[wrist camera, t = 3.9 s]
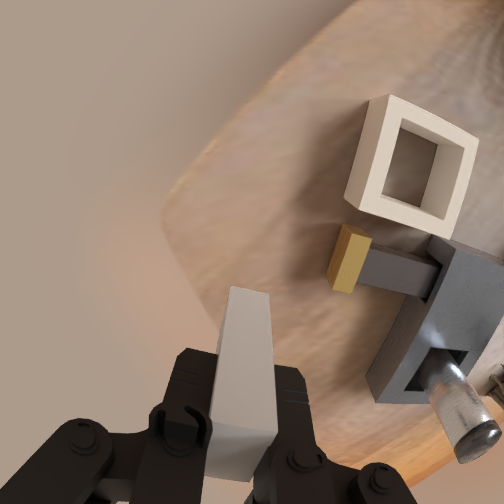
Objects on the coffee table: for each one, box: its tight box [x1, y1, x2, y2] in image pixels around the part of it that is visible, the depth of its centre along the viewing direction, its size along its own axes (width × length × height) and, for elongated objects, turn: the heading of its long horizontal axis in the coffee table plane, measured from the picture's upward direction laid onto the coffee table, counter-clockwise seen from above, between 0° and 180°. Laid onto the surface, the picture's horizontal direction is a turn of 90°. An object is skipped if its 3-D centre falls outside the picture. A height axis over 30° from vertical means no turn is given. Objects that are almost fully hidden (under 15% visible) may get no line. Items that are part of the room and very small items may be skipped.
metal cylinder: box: [415, 347, 502, 464], centre depth 22 cm, size 4×4×14 cm
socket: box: [366, 234, 504, 404], centre depth 25 cm, size 16×10×4 cm, turn 166°
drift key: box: [325, 223, 443, 299], centre depth 23 cm, size 4×14×3 cm, turn 76°
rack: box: [343, 94, 479, 240], centre depth 20 cm, size 8×8×4 cm
